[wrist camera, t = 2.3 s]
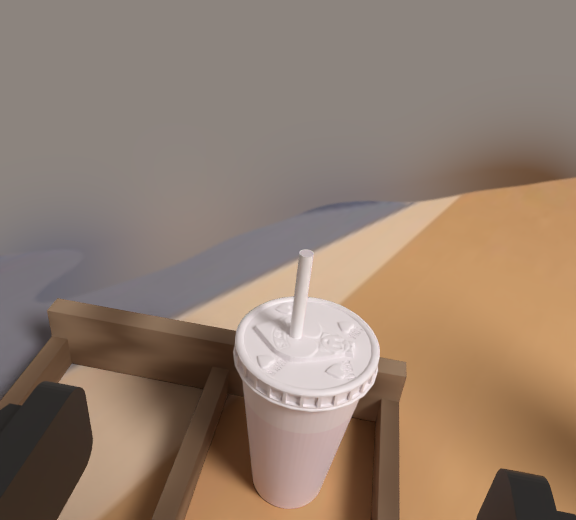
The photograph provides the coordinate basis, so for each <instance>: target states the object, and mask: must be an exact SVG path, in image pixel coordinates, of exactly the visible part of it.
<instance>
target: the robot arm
mask: <svg viewBox="0 0 576 520" xmlns="http://www.w3.org/2000/svg"><path fill="white" fill-rule="evenodd" d="M92 443H93V437H92V431H91V425H90V419H89V413H88V407H87V401H86V395H85V391H84V390H83V388H81V387H76V386H70V385H65V384H60V383H54V382H49V381H43V382H41V383H40V384H38V385H37V386H36V388H35V389H34V390H33V391H32V393H31V394H30V395H29V397H28V398H27V399H26V401H25V402H24V403H23V405H16V404H11V403H9V404H8V405H7V406H5V407H4V408H2V409H1V410H0V520H57V519H58V517H59V515H60V513H61V511H62V510H63V508H64V506H65V504H66V502H67V501H68V499H69V497H70V495H71V493H72V492H73V490H74V488H75V486H76V484H77V483H78V481H79V479H80V477H81V475H82V474H83V472H84V470H85V468H86V466H87V464H88V461H89V458H90V454H91V450H92ZM476 520H576V516H575V514H570V513H565V512H560V511H557V510H556V506H555V503H554V499H553V495H552V491H551V488H550V485H549V483H548V481H547V479H546V478H545V477H543V476H540V475H534V474H529V473H524V472H518V471H513V470H508V469H500V470H499V471H498V472H497V474H496V476H495V478H494V480H493V483H492V485H491V487H490V489H489V491H488V493H487V496H486V498H485V500H484V502H483V504H482V507H481V509H480V511H479V513H478V516H477V519H476Z"/></svg>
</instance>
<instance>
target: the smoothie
mask: <svg viewBox="0 0 576 520" xmlns="http://www.w3.org/2000/svg"><path fill="white" fill-rule="evenodd" d="M313 256H314V253H313V252H312V251H310V250H301V251H300V254H299V262H298V270H297V278H296V286H295V294H294V296H293V297H283V298H279V299H274V300H271V301H268V302H265V303H263V304H261V305H259V306H257V307H255V308H254V309H252V310H251V311H250V312H249V313H247V314H246V315H245V317H244V318H243V319H242V320H241V322H240V324H239V325H238V328H237V331H236V336H235V346H234V350H233V356H234V363H235V367H236V369H237V371H238V373H239V375H240V377H241V379H242V381H243V391H244V399H245V409H246V419H247V428H248V438H249V448H250V457H251V467H252V477H253V483H254V486H255V488H256V490H257V492H258V493H259V495H260V496H261V497H262V498H263V499H264V500H265V501H267V502H268V503H270V504H272V505H274V506H277V507H280V508H286V509H293V508H299V507H302V506H304V505H307V504H308V503H310V502H311V501H312V500H313V499H314V498H315V497H316V496H317V495H318V493H319V491H320V489H321V487H322V484H323V482H324V480H325V477H326V475H327V473H328V470H329V468H330V466H331V463H332V461H333V459H334V456H335V454H336V452H337V449H338V447H339V445H340V442H341V440H342V438H343V435H344V433H345V431H346V429H347V426H348V424H349V422H350V419H351V417H352V415H353V412H354V410H355V408H356V406H357V404H358V401H359V399H360V398H362V397H363V396H365V394H366V393H367V392H368V391H369V390H370V388H371V387H372V386H373V385H374V382H375V379H376V376H377V373H378V362H379V357H380V348H379V343H378V340H377V338H376V336H375V334H374V332H373V331H372V329H371V328H370V327H369V325H368V324H367V323H366V322H365V321H364V320H363V319H362V318H360V317H359V316H358V315H357V314H355V313H354V312H352V311H350V310H349V309H347V308H345V307H343V306H341V305H339V304H336V303H334V302H331V301H327V300H324V299H320V298H313V297H308V291H309V284H310V277H311V270H312V263H313Z"/></svg>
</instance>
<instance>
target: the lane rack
mask: <svg viewBox="0 0 576 520" xmlns="http://www.w3.org/2000/svg"><path fill="white" fill-rule="evenodd" d="M47 313H48V318H49V323H50V328H51V334H52V337H51V338H50V339H49V341H48V342H47V343H46V344H45V346H44V347H43V348H42V349H41V351H40V352H39V353H38V354H37V356H36V357H35V358H34V359H33V361H32V362H31V363H30V364H29V366H28V367H27V368H26V369H25V371H24V372H23V373H22V375H21V376H20V377H19V378H18V380H17V381H16V382H15V383H14V385H13V386H12V387H11V388H10V390H9V391H8V392H7V393H6V395H5V396H4V397H3V398H2V400H1V401H0V410H1V409H2V408H4V407H5V406H7V405H8V404H9V403H11V404H16V405H23V403H24V402H25V401H26V399H27V398H28V397H29V395H30V394H31V393H32V391H33V390H34V389H35V388H36V386H37V385H38V384H40V383H41V382H43V381H49V382H54V383H58V382H59V381H60V379H61V378H62V376H63V375H64V374H65V372H66V371H67V369H68V368H69V366H70V365H71V364H72V363H73V364H79V365H84V366H89V367H94V368H99V369H104V370H110V371H115V372H120V373H125V374H130V375H135V376H141V377H146V378H151V379H156V380H161V381H166V382H172V383H177V384H182V385H187V386H192V387H198V388H203V392H202V394H201V397H200V399H199V402H198V404H197V407H196V409H195V412H194V414H193V417H192V419H191V422H190V424H189V427H188V429H187V432H186V434H185V437H184V439H183V442H182V444H181V447H180V449H179V452H178V454H177V457H176V459H175V462H174V464H173V467H172V469H171V472H170V474H169V477H168V479H167V482H166V484H165V487H164V490H163V492H162V495H161V497H160V500H159V502H158V505H157V507H156V510H155V512H154V515H153V517H152V520H184V519H185V516H186V513H187V510H188V507H189V504H190V502H191V499H192V496H193V493H194V490H195V487H196V484H197V481H198V478H199V476H200V473H201V470H202V467H203V464H204V461H205V458H206V455H207V452H208V449H209V447H210V444H211V441H212V438H213V435H214V432H215V429H216V426H217V423H218V420H219V418H220V415H221V412H222V409H223V406H224V403H225V400H226V397H227V394H228V393H229V394H234V395H239V396H244V391H243V381H242V379H241V377H240V375H239V373H238V371H237V369H236V367H235V363H234V356H233V350H234V346H235V336H236V331H233V330H228V329H222V328H217V327H211V326H206V325H200V324H195V323H189V322H184V321H179V320H173V319H168V318H162V317H157V316H151V315H146V314H140V313H135V312H129V311H124V310H118V309H113V308H108V307H102V306H97V305H91V304H86V303H80V302H75V301H69V300H64V299H58V298H57V300H56V301H55V302H54V303H53V304H52V305H51V307H50V308H49V309H48V310H47ZM405 380H406V362H402V361H397V360H391V359H386V358H381V357H379V362H378V373H377V376H376V379H375V382H374V385H373V386H372V387H371V388H370V390H369V391H368V392H367V393H366V394H365V396H363V397H362V398H360V399H359V401H358V404H357V406H356V408H355V410H354V412H353V415H352V417H353V418H358V419H363V420H368V421H373V422H375V441H374V465H373V488H372V512H371V520H399V400H400V397H401V394H402V390H403V387H404V383H405Z"/></svg>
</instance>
